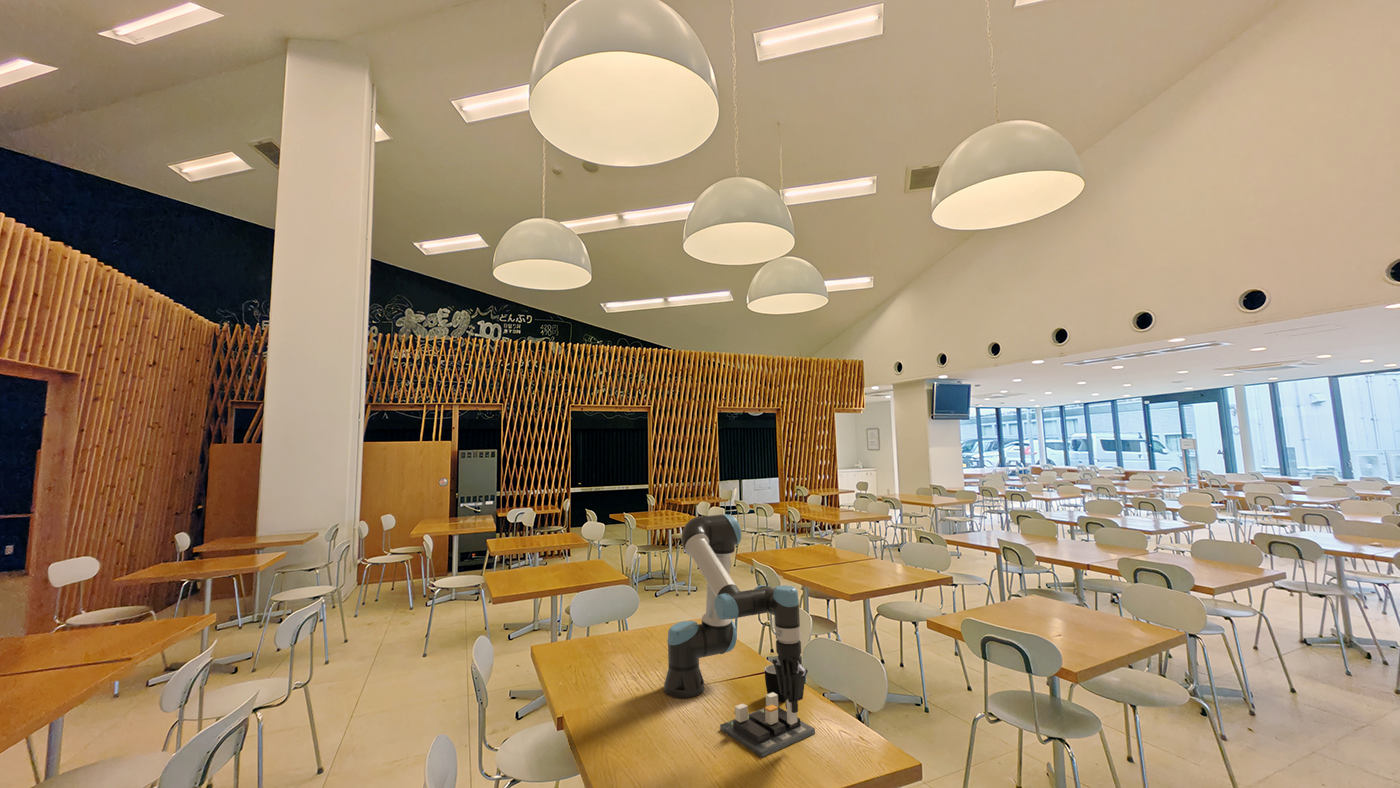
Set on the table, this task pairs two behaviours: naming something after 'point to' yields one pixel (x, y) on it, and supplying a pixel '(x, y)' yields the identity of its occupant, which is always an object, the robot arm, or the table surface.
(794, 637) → the robot arm
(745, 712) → the block
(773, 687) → the mug
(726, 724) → the panel
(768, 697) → the breaker far
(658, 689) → the table surface
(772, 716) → the block
